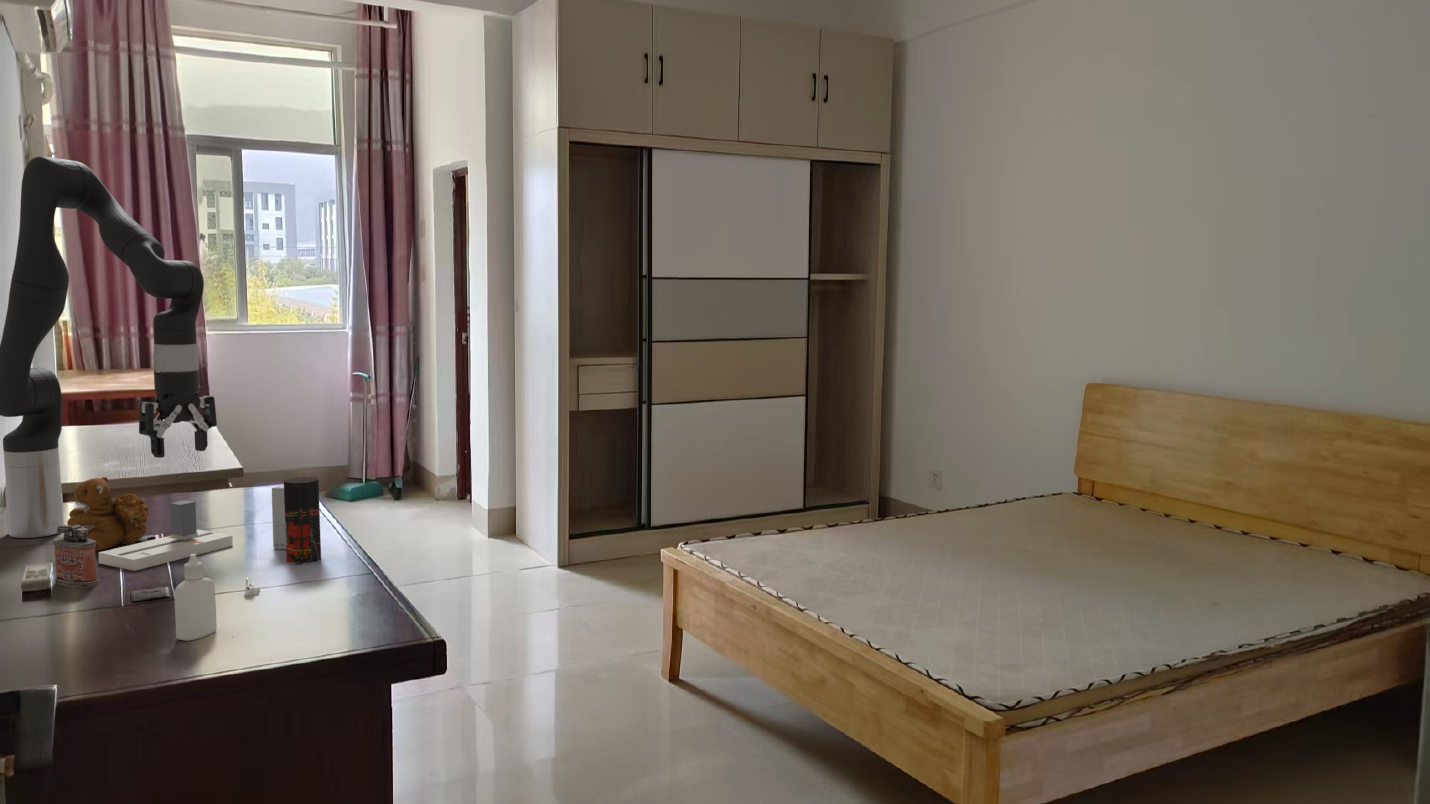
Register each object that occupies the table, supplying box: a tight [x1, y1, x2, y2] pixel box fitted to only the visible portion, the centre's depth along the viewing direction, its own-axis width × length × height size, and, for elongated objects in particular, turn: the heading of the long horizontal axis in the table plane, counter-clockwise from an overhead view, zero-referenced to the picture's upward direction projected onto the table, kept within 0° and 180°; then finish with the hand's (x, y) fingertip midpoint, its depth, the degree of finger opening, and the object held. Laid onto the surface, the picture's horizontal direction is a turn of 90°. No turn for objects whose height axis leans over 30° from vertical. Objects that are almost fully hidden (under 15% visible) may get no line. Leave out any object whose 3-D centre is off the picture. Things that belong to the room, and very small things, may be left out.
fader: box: [169, 499, 198, 540], centre depth 196 cm, size 4×3×7 cm
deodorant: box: [283, 476, 322, 565], centre depth 189 cm, size 6×6×15 cm
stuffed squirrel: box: [66, 476, 150, 552], centre depth 199 cm, size 10×14×13 cm
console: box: [98, 529, 234, 572], centre depth 193 cm, size 10×20×2 cm, turn 153°
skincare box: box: [271, 483, 286, 550], centre depth 199 cm, size 6×4×12 cm
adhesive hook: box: [243, 577, 261, 597], centre depth 169 cm, size 3×3×3 cm
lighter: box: [52, 524, 99, 589], centre depth 174 cm, size 8×3×10 cm, turn 71°
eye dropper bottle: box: [173, 554, 218, 642], centre depth 149 cm, size 4×6×12 cm
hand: (180, 453), depth 194 cm, fingers open, 8 cm apart
